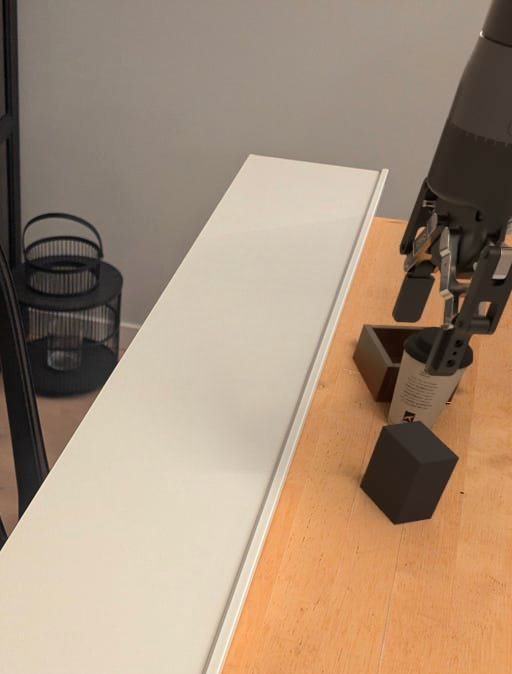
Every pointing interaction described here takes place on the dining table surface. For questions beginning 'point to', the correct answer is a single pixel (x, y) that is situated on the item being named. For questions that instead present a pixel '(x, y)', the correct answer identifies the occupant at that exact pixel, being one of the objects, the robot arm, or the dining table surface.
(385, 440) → the black rectangular block
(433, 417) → the coffee cup
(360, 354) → the open box
